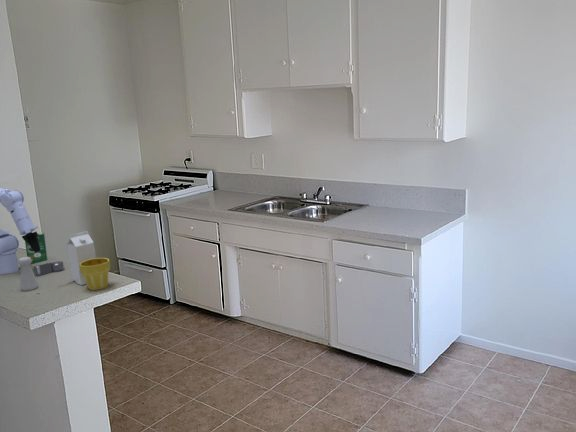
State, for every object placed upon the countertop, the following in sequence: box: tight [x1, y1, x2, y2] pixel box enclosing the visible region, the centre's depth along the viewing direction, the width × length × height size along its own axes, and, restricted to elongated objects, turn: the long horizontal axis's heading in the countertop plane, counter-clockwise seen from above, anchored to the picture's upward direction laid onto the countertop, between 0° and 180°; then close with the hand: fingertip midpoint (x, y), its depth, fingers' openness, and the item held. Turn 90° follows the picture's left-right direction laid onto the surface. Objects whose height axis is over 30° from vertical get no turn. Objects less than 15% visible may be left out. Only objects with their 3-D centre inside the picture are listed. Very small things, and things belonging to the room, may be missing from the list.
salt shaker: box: [17, 256, 39, 292], centre depth 195 cm, size 6×6×13 cm
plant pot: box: [79, 257, 111, 291], centre depth 196 cm, size 10×10×10 cm
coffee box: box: [24, 232, 49, 265], centre depth 234 cm, size 8×3×13 cm, turn 110°
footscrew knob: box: [34, 260, 65, 277], centre depth 215 cm, size 11×5×4 cm, turn 138°
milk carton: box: [66, 230, 97, 286], centre depth 203 cm, size 7×7×19 cm
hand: (37, 251), depth 213 cm, fingers open, 7 cm apart
